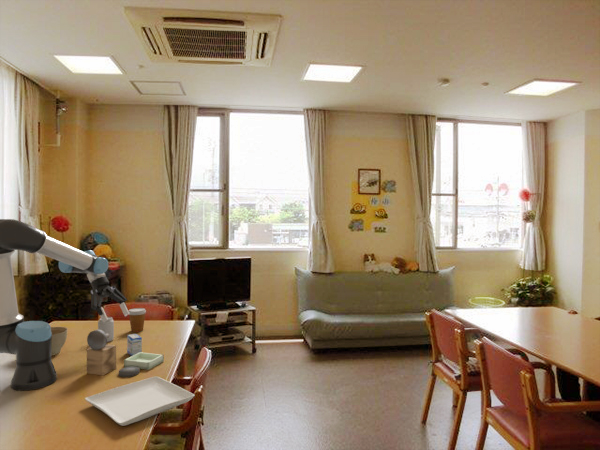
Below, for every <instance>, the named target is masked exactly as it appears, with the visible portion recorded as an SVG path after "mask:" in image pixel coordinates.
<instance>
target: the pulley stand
mask: <svg viewBox="0 0 600 450" xmlns="http://www.w3.org/2000/svg"><path fill="white" fill-rule="evenodd" d="M109 336H110V335H109V334H108V333H107V334H105V332H104V331H102V330H99V329H98V328H97V329H95V330H92V331H89V332H88V335H87V338H86V341H87V345H88V347H89V348H87V349H86V374H90V375H98V376H104V375H106V374H108V373H110V372H112V371H114V370H117V344H116V345H114V344H107V343H108V342H107V338H109Z"/></svg>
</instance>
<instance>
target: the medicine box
mask: <svg viewBox="0 0 600 450" xmlns="http://www.w3.org/2000/svg"><path fill="white" fill-rule="evenodd" d="M126 337H127V338H126V339H127V341H126V343H127V344H126V350H127V351H126V354H128V355H130V357H131V356H133V355H135V354H137V353H139V352H143V337H141V336H140V335H139V334H137V333H132V334H127V335H126Z"/></svg>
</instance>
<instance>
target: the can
mask: <svg viewBox="0 0 600 450" xmlns="http://www.w3.org/2000/svg"><path fill="white" fill-rule="evenodd" d="M107 318H108V320H106V321H105V322H103V321H102V319H101V317H100V318H99V319H98V321H97V330H98V329H99V330H102V331H104V332H105V334H107V333H108V334H109V335H110V336H109V338H107V343H109V342H112V341H113V340H114V338H115V334H114V333H115V327H114V326H115V321H114V319H113V317H112V316H107Z"/></svg>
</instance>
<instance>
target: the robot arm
mask: <svg viewBox="0 0 600 450" xmlns="http://www.w3.org/2000/svg"><path fill="white" fill-rule="evenodd" d="M15 250H16V251H22V252H27V253H30V254H35V253H37V254H40V255H42V256H44V257H47V258H50V259H53V260H55V261H58V269H59V271H60V272H62V273H65V274H66V273H68V274H70V273H77V274H78V273H79V274H85V275H86V277H87V279H88V281H89V283H90V285H91V287H92V289H91V290H90V291H89V293H90V308H91V310H94V311H97V314H98V316H99V317H100V318H101V319H102V321H103V322H105V321H106V320H108V318H107V317H108V316H107V313H106V312H105V309H104V308H103V306H102V303H103V298H107V297H108V298H111V300H112V299H113V300H114V301H115V302H116V303H118V304H119V307H120V310H121V311H122V314H123V315H124V317H127V316H128V315H129V314H130V313H129V310H128V306H127V303H126V302H127V301H128V299H127V297H125V295H124V294H123V293H122V292H121V291H120V290H119V289H118V288H117V287H116V285H112V286H110V281H109V279H108V277H107V276H106V272H107V271H108V269H109V261H108V259H107V258H105V257H102V256H97V255H96V254H95V252H94V250H91V249H88V250H84V251H83V250H80V249H78V248H76V247H73V246H72V245H69V244H67V243H65V242H62V241H60V240H58V239H55V238H54V237H51V236H49V235H47V234H46V231H44V230H43V229H42V230H41V229H39V228H37V227H36V226H33V225H30V224H28V223H26V222H23V221H20V220H17V219H14V218H13V219H11V218H10V219H9V218H6V219H5V218H3V219H2V218H0V354H8V355H15V359H16V360H15V362H16V365H15V369H14V372H13V375H12V378H11V382H10V388H11V389H13V390H14V391H30V390H36V389H40V388H44V387H47V386H49V385H51V384H53V383H55V382H56V380H57V379H58V378H57V377H58V376H57V375H58V374H57V371H56V368H55V365H54V363H53V361H52V356H51V336H52V332H51V327H52V326H51V325H50V323H48V322H46V321H43V320H29V321H28V320H27V321H25V317H24V315H23V314H21V313H19V307H18V300H17V292H16V285H15V284H16V283H15V278H14V270H13V269H14V268H13V264H12V255H13V254H14V253H15Z"/></svg>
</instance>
